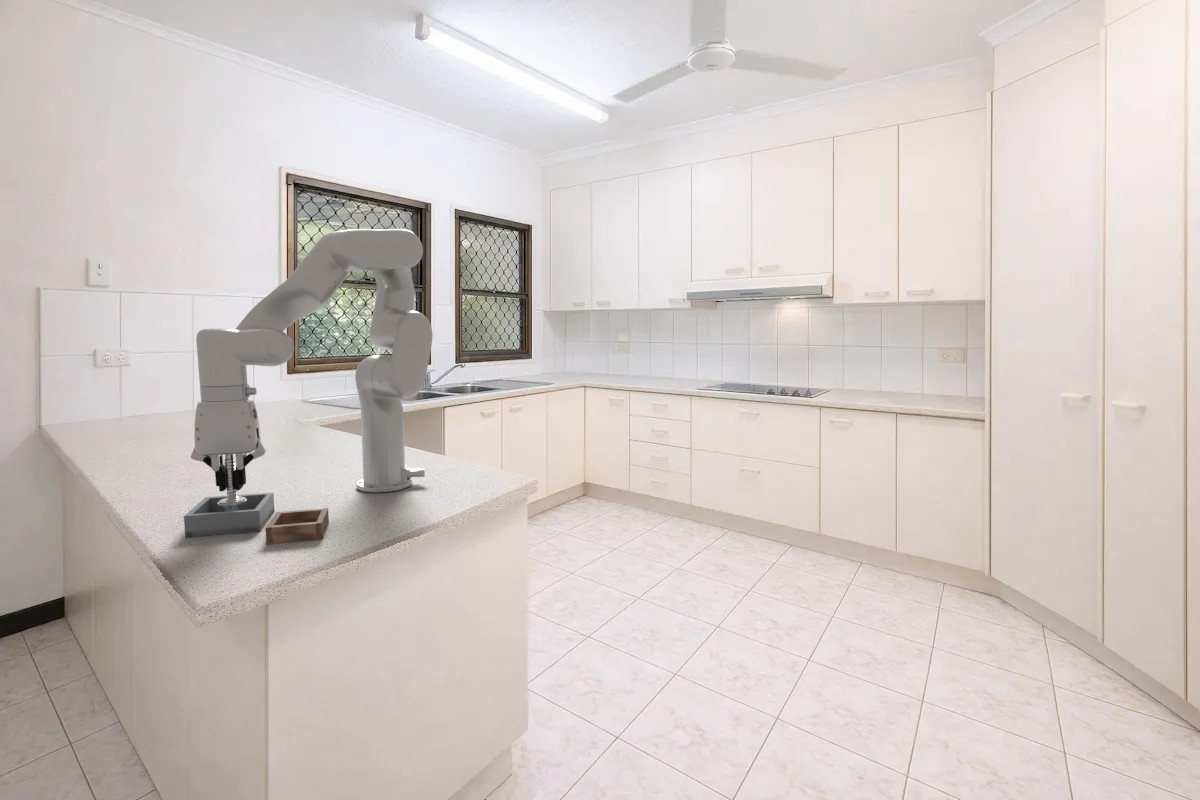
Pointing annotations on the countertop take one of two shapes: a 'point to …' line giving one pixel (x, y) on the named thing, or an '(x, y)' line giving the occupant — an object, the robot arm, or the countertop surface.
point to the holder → (297, 526)
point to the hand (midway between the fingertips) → (231, 488)
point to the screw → (231, 488)
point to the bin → (229, 516)
